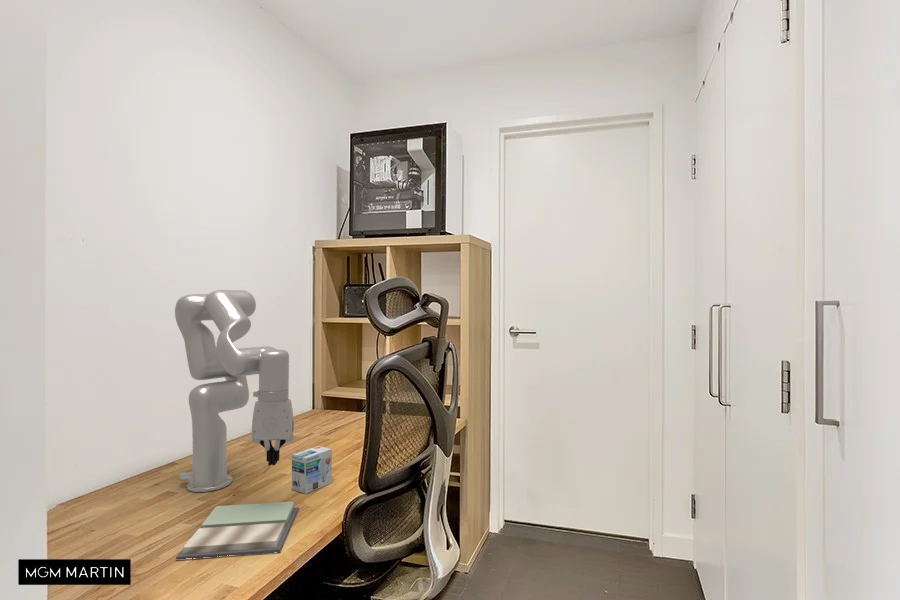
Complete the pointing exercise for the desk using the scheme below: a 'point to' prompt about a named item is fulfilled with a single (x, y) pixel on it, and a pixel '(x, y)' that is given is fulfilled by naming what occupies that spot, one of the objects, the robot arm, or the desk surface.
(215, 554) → the underlay mat
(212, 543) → the oak plank
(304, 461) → the light bulb box
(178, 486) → the desk surface
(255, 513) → the sage plank
